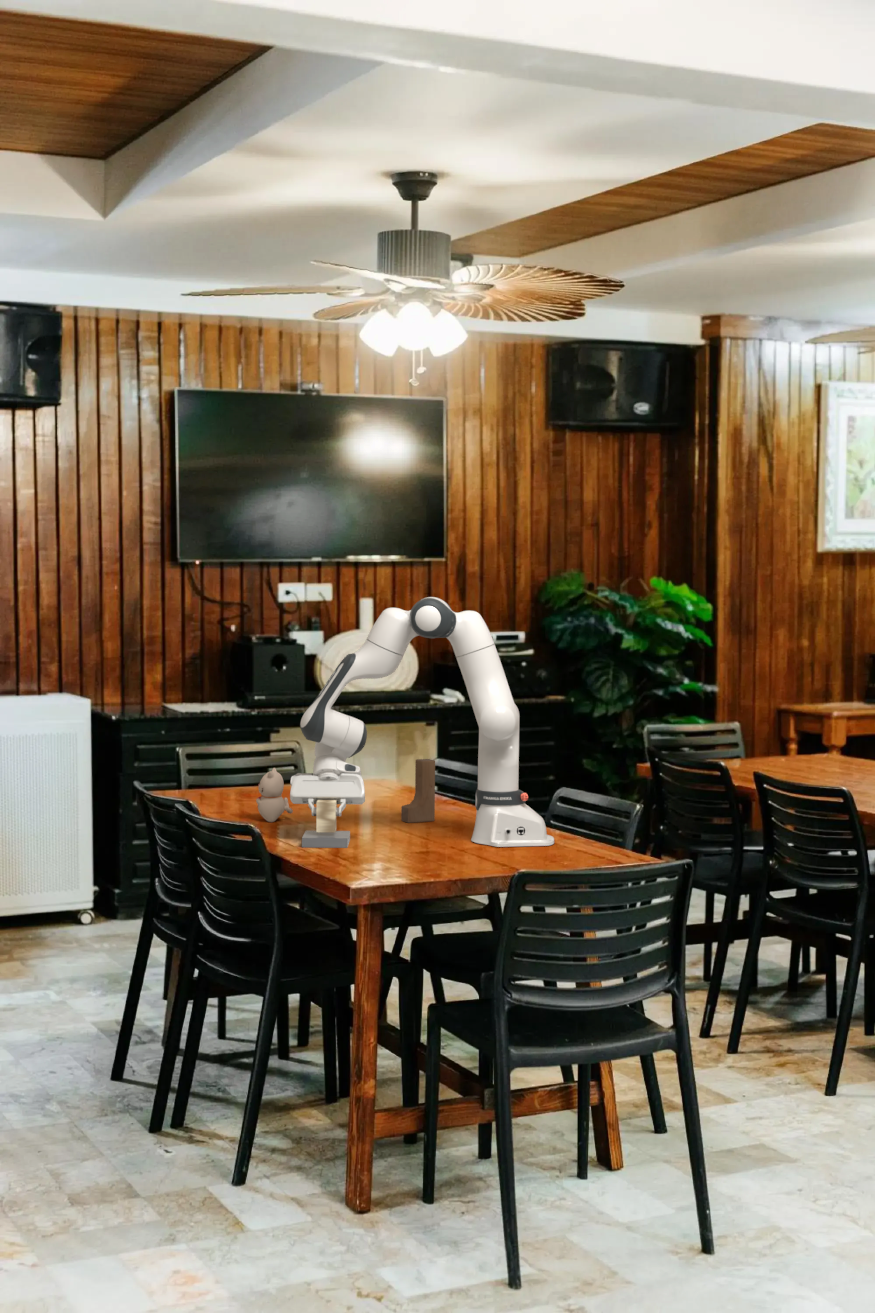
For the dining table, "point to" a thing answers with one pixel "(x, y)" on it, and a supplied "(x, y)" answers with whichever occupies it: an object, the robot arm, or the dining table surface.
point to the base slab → (326, 839)
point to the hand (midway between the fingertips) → (326, 814)
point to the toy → (272, 796)
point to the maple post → (326, 816)
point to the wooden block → (422, 794)
